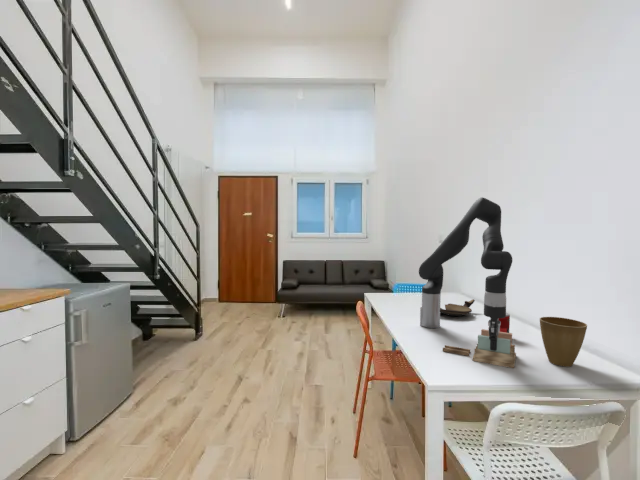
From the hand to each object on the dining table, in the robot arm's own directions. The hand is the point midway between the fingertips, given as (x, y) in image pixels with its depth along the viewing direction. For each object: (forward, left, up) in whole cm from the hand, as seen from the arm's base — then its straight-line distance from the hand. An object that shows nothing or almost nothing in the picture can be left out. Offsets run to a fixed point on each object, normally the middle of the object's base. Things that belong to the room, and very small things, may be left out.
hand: (493, 349), depth 137 cm
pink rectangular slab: (0, +9, -4) cm, 10 cm away
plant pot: (+22, +13, -5) cm, 26 cm away
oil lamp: (-27, +71, -5) cm, 76 cm away
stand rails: (-14, +4, -5) cm, 15 cm away
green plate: (0, 0, -4) cm, 4 cm away
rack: (0, +5, -5) cm, 7 cm away
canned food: (-1, +38, -5) cm, 38 cm away
